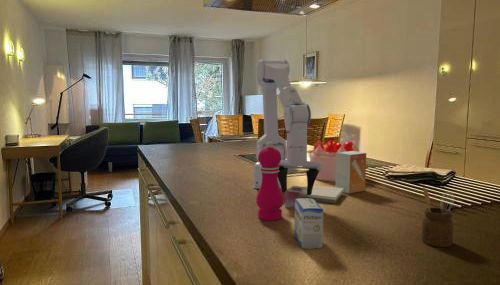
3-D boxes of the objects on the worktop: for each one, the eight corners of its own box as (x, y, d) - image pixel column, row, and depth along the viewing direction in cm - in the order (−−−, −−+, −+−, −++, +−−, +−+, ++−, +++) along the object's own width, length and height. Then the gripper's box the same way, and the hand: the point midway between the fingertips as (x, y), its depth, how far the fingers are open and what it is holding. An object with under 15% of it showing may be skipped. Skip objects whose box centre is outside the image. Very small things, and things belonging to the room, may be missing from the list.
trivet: (296, 199, 111) (296, 193, 111) (307, 190, 122) (308, 184, 122) (335, 203, 106) (335, 197, 106) (343, 194, 117) (343, 188, 117)
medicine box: (294, 235, 82) (294, 198, 81) (313, 234, 82) (313, 197, 81) (301, 249, 74) (302, 208, 73) (323, 248, 74) (323, 207, 73)
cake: (339, 184, 130) (340, 146, 128) (299, 176, 146) (299, 141, 144) (370, 177, 142) (371, 141, 141) (330, 170, 158) (330, 138, 156)
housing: (285, 208, 103) (285, 188, 102) (293, 201, 109) (293, 183, 109) (300, 210, 101) (300, 190, 100) (307, 203, 107) (307, 185, 107)
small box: (349, 194, 117) (350, 154, 115) (334, 190, 122) (335, 152, 121) (365, 190, 121) (366, 152, 120) (351, 187, 127) (351, 150, 125)
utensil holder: (459, 247, 74) (462, 190, 73) (429, 248, 74) (432, 191, 72) (441, 236, 80) (444, 183, 79) (414, 237, 80) (417, 184, 78)
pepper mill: (286, 214, 97) (286, 140, 95) (279, 222, 90) (279, 143, 88) (260, 211, 99) (260, 139, 97) (252, 219, 93) (251, 142, 90)
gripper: (268, 147, 103) (268, 193, 104) (317, 149, 96) (317, 198, 98) (277, 144, 109) (277, 188, 110) (324, 146, 103) (324, 192, 104)
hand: (296, 192), depth 105 cm, fingers open, 7 cm apart
